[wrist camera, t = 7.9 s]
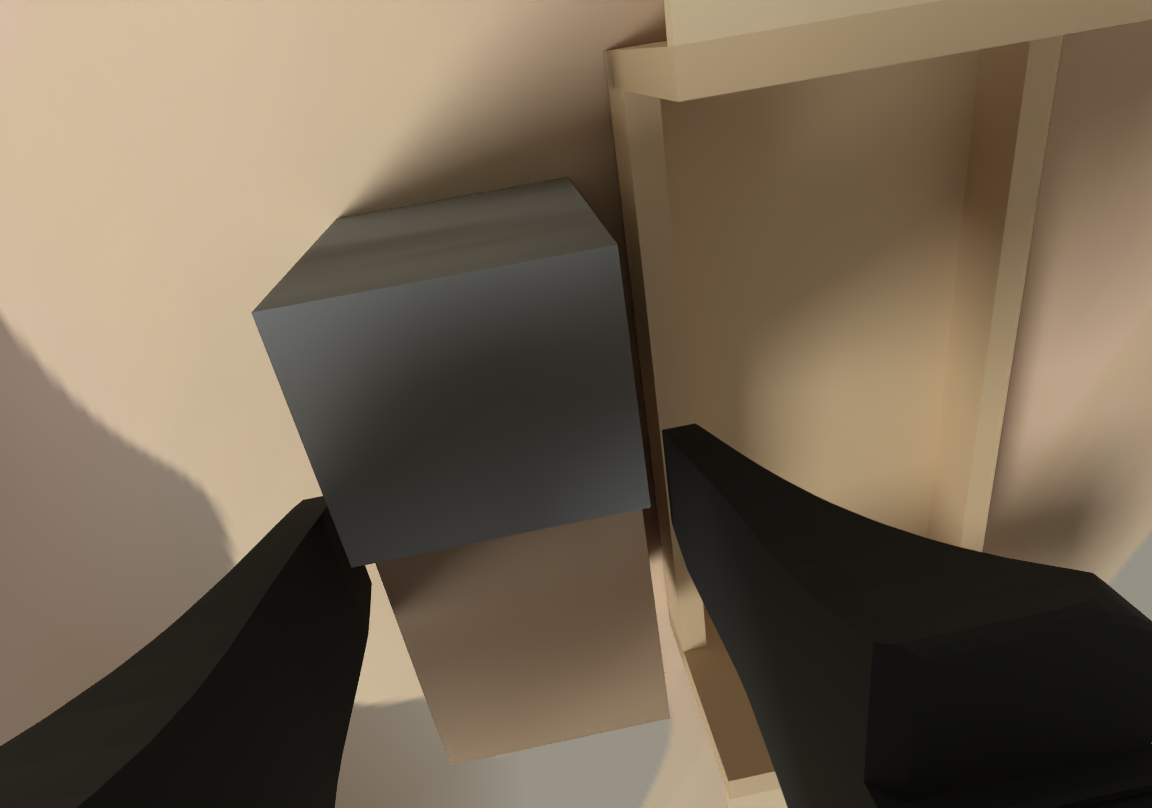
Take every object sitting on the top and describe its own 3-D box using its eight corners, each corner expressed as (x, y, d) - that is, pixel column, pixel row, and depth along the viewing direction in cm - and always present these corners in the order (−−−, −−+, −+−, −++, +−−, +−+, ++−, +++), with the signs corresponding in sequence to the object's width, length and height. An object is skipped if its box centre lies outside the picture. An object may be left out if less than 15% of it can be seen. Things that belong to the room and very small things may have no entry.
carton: (930, 646, 21) (1053, 806, 16) (679, 700, 20) (735, 879, 16) (1037, -229, 11) (1394, -414, 7) (579, -157, 11) (648, -303, 7)
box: (627, 571, 18) (683, 762, 13) (456, 606, 18) (448, 814, 13) (567, 177, 13) (617, 245, 8) (336, 218, 13) (251, 312, 8)
